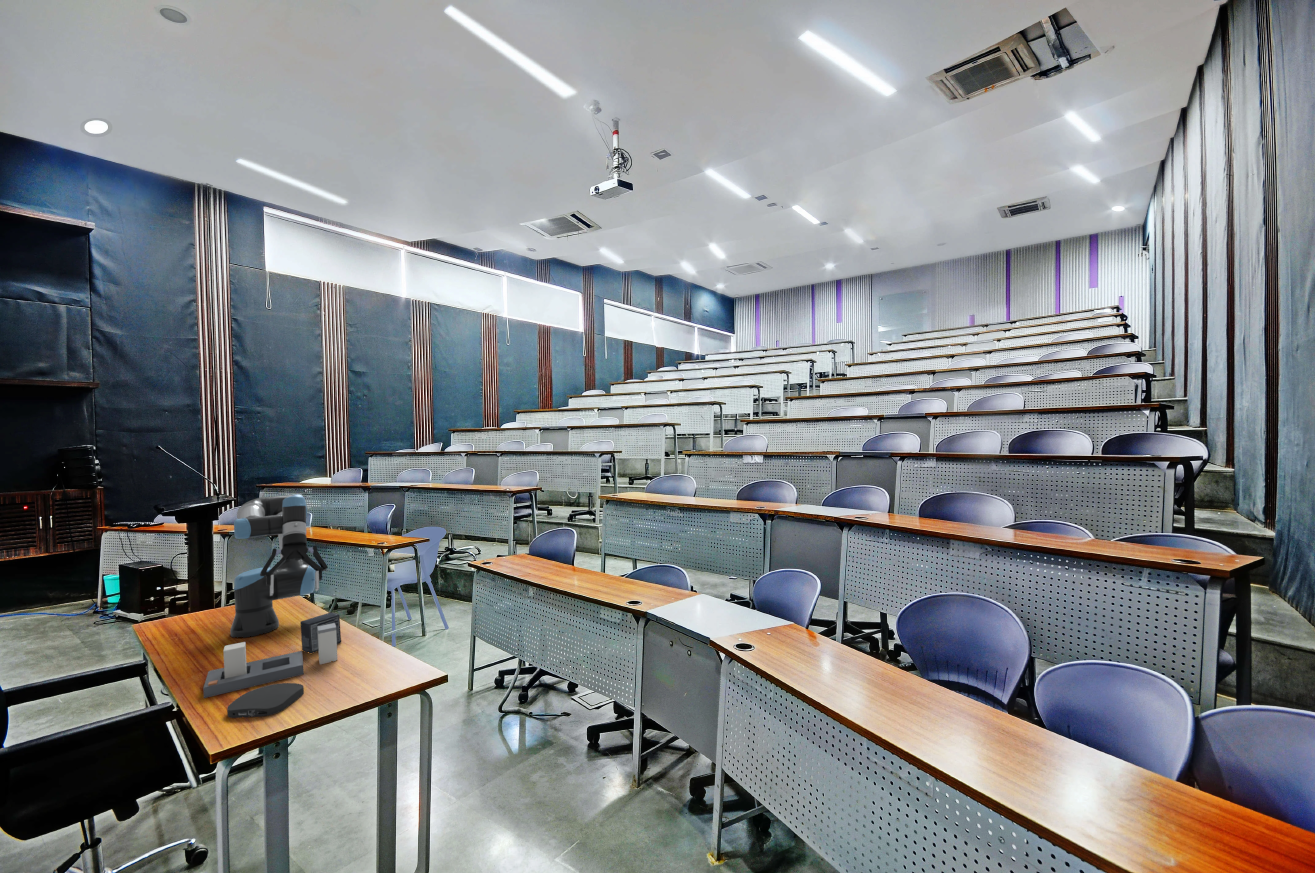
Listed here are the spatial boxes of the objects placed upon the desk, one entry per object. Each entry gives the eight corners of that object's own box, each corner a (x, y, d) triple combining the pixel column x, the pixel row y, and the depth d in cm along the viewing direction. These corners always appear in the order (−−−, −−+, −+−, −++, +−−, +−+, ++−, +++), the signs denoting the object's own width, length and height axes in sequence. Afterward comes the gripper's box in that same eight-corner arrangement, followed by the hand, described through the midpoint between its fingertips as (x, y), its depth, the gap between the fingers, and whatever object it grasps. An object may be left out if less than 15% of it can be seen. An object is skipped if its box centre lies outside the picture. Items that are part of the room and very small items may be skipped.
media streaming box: (309, 690, 159) (309, 680, 159) (276, 717, 144) (276, 705, 144) (258, 693, 158) (258, 683, 158) (219, 720, 144) (219, 708, 144)
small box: (332, 640, 198) (330, 611, 198) (342, 643, 195) (340, 613, 195) (300, 650, 189) (299, 620, 189) (310, 654, 186) (309, 623, 185)
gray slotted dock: (209, 680, 167) (207, 644, 167) (302, 659, 181) (300, 626, 181) (203, 698, 156) (202, 659, 156) (303, 674, 169) (302, 638, 169)
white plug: (318, 659, 181) (317, 626, 181) (336, 655, 184) (334, 622, 183) (319, 664, 177) (318, 630, 176) (337, 660, 179) (336, 626, 179)
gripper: (253, 534, 192) (252, 592, 183) (334, 530, 208) (337, 584, 199) (251, 542, 197) (250, 599, 188) (331, 537, 213) (333, 590, 204)
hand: (294, 591), depth 194 cm, fingers open, 13 cm apart
